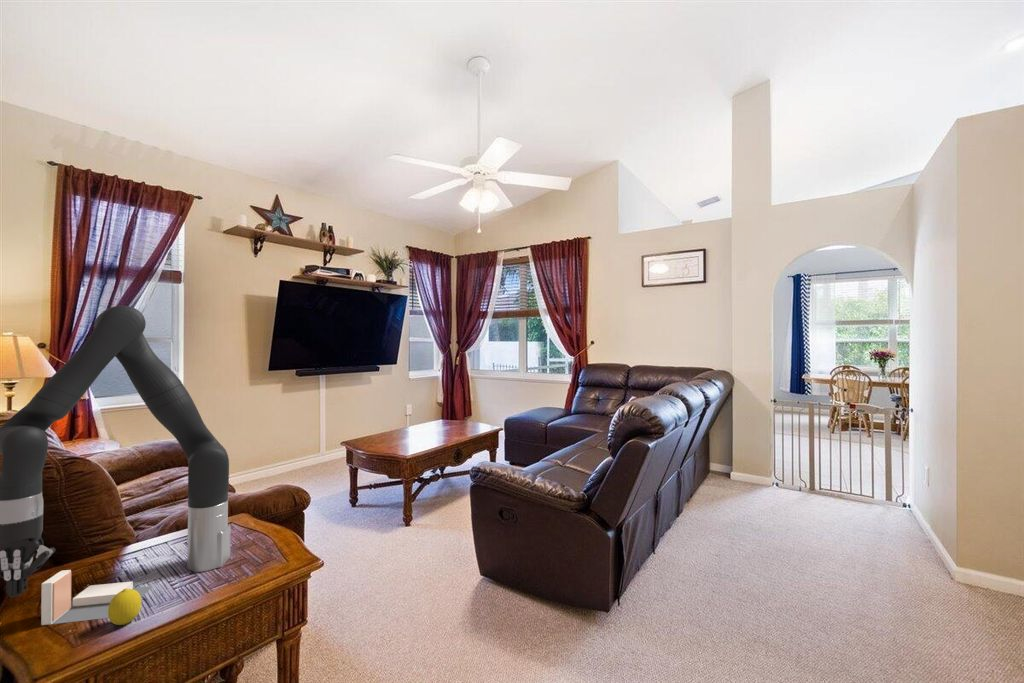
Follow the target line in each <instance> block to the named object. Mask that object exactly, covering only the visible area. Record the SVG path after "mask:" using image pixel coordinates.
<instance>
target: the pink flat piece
mask: <svg viewBox="0 0 1024 683" xmlns="http://www.w3.org/2000/svg"><path fill="white" fill-rule="evenodd" d="M40 601H41V604H40V605H41V607H40V608H41V610H40V611H41V612H40V614H41V616H40V618H41V620H40V626H47V625H48V624H50V625H53V624H52V623H53V622H55V621H56V620H57V619H58V618H60V617H61V616H62V615H63V614H65V613H66V612H67V611H68V610H70V608H71V601H72V570H71V569H66V570H60V571H59V572H57V573H56V574H54V575H52V576H51V577H50V578H48V579H46V580H45V581H44V582H42V583H41V600H40Z"/></svg>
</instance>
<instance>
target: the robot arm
mask: <svg viewBox="0 0 1024 683" xmlns="http://www.w3.org/2000/svg"><path fill="white" fill-rule="evenodd" d="M146 324H147V323H146V319H145V316H144V315H143V313H142V312H141V311H140V310H138V309H137V308H134V307H132V306H129V305H114V306H111V307H108V308H107V309H105V310H103V311H102V312H101V313H100V314H99V315H98V316H97V317H96V319H95V320H94V323H93V330H92V332H91V334H90V335H89V336H88V338H87V340H85V342H84V343H83V345H82V346H81V347H80V348H79V349H78V351H76V352H75V354H73V356H72V357H71V358H70V359H69V360H67V362H65V364H64V365H62V366H61V367H60V368H59V369H58V370H57V371H56V372H55V373H54V374H52V376H51V377H50V378H49V379H48V380H47V381H46V382H45V383H44V384H43V385H42V387H41V388H40V389H39V390H38V391H37V392H36V393H35V395H34V396H33V397H32V399H30V401H29V402H28V403H27V404H26V405H24V407H22V408H21V409H19V411H17V412H16V413H14V415H12V416H11V417H10V418H9V419H8V420H7V421H5V423H3V424H2V425H1V426H0V455H1V458H2V459H1V469H0V470H1V471H0V579H1V578H2V579H3V580H4V581H6V583H5V586H6V587H5V588H6V589H5V593H6V595H8V598H12V597H14V598H15V597H19V596H20V595H22V594H24V593H25V591H27V589H28V581H29V580H28V577H29V576H30V575H32V574H34V573H35V572H37V571H38V570H40V569H41V567H42V566H43V565H45V563H46V562H47V561H48V560H49V559H50V557H51V556H53V555H54V553H56V548H55V547H53V546H52V547H50V548H49V547H47V546H45V545H44V540H43V538H42V533H43V530H44V497H43V470H44V467H45V463H46V460H47V456H48V451H49V450H48V449H49V439H48V435H47V433H46V431H47V430H48V429H49V428H50V426H52V425H53V424H54V423H55V422H57V421H60V420H63V419H64V418H65V417H66V416H67V415H68V414H69V413H70V412H71V411H72V410H73V408H74V407H75V406H76V405H77V404H78V403H79V401H80V400H81V399H82V397H84V395H85V394H86V393H87V391H88V390H89V389H90V387H91V386H92V384H94V382H95V381H96V379H97V378H98V377H99V376H100V375H101V373H102V371H103V370H105V368H106V367H107V366H108V365H109V364H110V363H111V361H112V360H113V359H114V358H116V359H117V360H118V362H119V363H120V364H121V366H122V367H123V369H124V370H125V372H126V375H127V376H128V377H129V379H130V381H131V383H132V384H133V387H134V388H135V389H136V392H137V393H138V395H139V396H140V398H141V400H142V401H143V402H144V404H145V406H146V407H147V409H148V410H149V411H150V413H151V414H152V415H153V417H154V418H155V419H156V420H157V421H158V422H159V423H160V424H161V425H162V426H163V427H164V428H165V429H166V430H167V431H168V432H169V433H171V435H172V436H173V437H174V438H175V439H176V441H177V442H178V444H179V446H180V448H181V449H182V451H183V452H184V453H183V454H184V455H185V458H186V459H187V461H188V465H187V466H188V467H187V468H188V469H187V559H186V560H187V561H186V562H187V569H188V570H190V571H191V572H193V573H200V572H207V571H211V570H214V569H217V568H218V569H219V568H222V567H223V566H224V565H225V564H226V563H227V561H229V559H230V558H231V524H230V523H228V522H229V521H228V520H229V519H228V514H229V511H228V510H229V490H230V489H229V488H230V484H229V483H230V458H229V455H228V452H227V450H226V448H225V447H224V446H223V445H222V444H221V443H220V442H219V441H218V439H217V438H216V437H215V436H214V435H213V433H212V432H211V431H210V430H209V427H207V425H206V424H205V423H204V420H203V418H202V416H201V414H200V412H199V410H198V408H197V405H196V403H195V402H194V400H193V398H192V396H191V395H190V393H189V392H188V390H187V388H186V386H185V385H184V383H183V382H182V380H180V377H179V376H178V375H177V374H176V373H175V372H174V371H173V370H172V369H171V368H170V367H169V366H168V365H166V364H165V363H164V362H163V361H162V359H160V358H159V357H158V356H157V354H156V353H155V352H154V351H153V349H152V348H151V346H150V344H149V343H148V340H147V338H146V337H145V335H144V331H145V329H146ZM34 556H35V558H36V559H35V560H34ZM33 560H34V561H33Z"/></svg>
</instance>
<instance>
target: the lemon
mask: <svg viewBox="0 0 1024 683" xmlns="http://www.w3.org/2000/svg"><path fill="white" fill-rule="evenodd" d="M141 608H142V598H141V596H140V594H139V593H138V592H137V591H136V590H133V589H127V588H126V589H123V591H121V592H119V593H118V594H116V595H115V596H114V597H113V599H112V600H111V602H110V605H109V608H108V617H109V618H108V620H109V621H110V622H111V623H112V624H114V625H116V626H117V625H118V626H122V625H123V626H125V625H127V624H129V623H131V622H132V621H133V620H134V619H136V618H137V616H138V615H139V613H140V611H141Z"/></svg>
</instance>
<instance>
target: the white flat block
mask: <svg viewBox="0 0 1024 683" xmlns="http://www.w3.org/2000/svg"><path fill="white" fill-rule="evenodd" d="M126 588H127V589H133V588H134V581H125V582H124V581H123V582H114V583H113V582H112V583H104V584H93V585H88V586H87V587H86V588H85V589H83V590H82V591H80V592H79V593H78V594H77V595H75V596H74V597H72V601H73V606H76V607H78V606H88V605H98V604H107V603H110V602H111V600H112V599H113V597H114V596H115V595H116V594H118V593H119V592H121V591H123V589H126Z"/></svg>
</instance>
